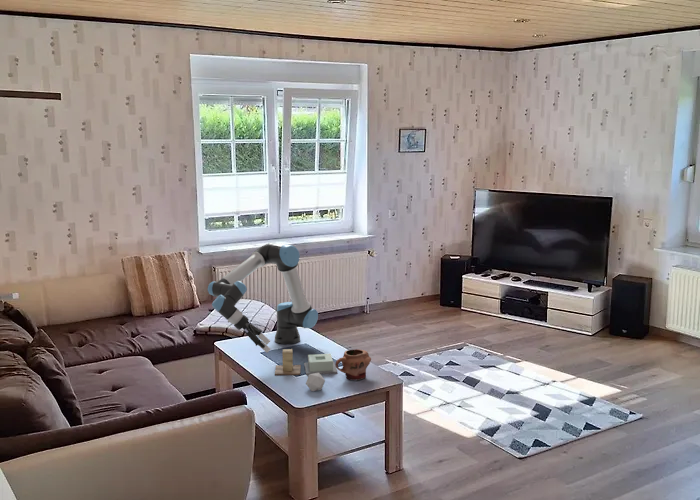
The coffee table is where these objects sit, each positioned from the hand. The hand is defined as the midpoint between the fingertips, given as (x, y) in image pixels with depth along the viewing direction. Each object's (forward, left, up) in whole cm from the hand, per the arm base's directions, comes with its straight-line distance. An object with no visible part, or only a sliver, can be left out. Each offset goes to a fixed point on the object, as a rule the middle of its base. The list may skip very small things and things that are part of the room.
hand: (268, 346), depth 335 cm
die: (+28, +21, -14) cm, 38 cm away
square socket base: (0, +26, -13) cm, 30 cm away
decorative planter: (+16, +41, -14) cm, 46 cm away
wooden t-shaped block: (0, +9, -14) cm, 17 cm away
